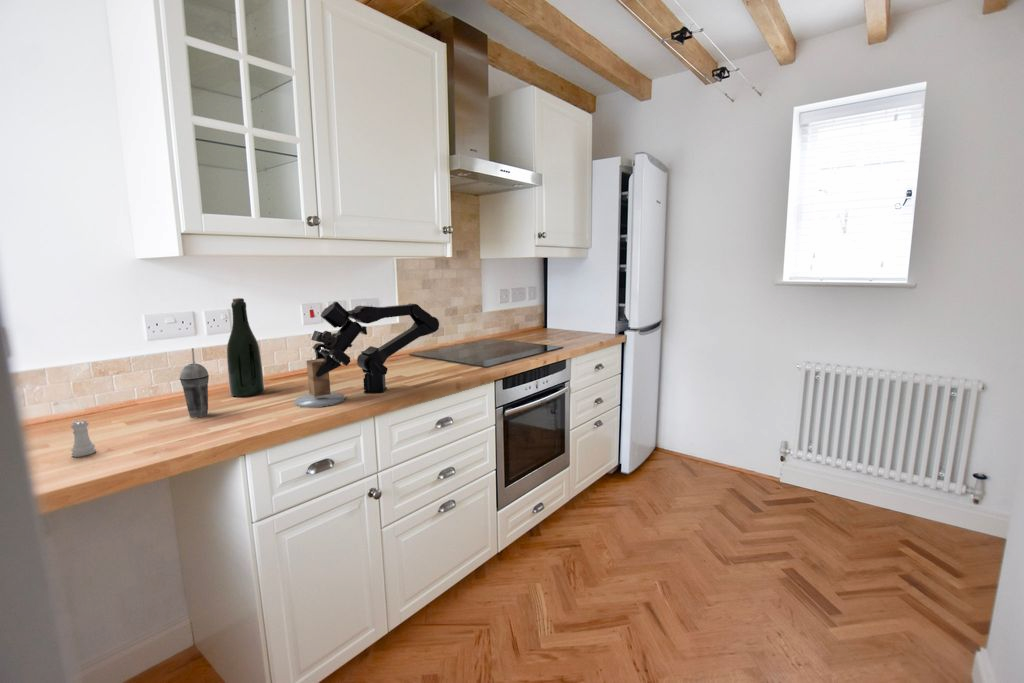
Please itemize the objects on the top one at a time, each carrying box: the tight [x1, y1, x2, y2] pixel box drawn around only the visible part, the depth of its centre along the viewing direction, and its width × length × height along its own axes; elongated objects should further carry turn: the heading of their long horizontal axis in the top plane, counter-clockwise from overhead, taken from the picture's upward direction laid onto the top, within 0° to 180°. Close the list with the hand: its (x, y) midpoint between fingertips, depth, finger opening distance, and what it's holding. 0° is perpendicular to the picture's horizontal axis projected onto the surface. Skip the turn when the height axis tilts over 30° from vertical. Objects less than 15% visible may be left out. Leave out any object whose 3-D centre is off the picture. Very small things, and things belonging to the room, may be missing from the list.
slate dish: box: [294, 391, 346, 408], centre depth 158 cm, size 15×15×1 cm
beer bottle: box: [226, 297, 265, 398], centre depth 167 cm, size 10×10×33 cm
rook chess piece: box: [70, 419, 97, 458], centre depth 115 cm, size 4×4×8 cm
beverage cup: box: [179, 348, 210, 418], centre depth 143 cm, size 7×7×20 cm
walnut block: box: [306, 358, 331, 397], centre depth 157 cm, size 5×5×11 cm
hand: (313, 374), depth 156 cm, fingers closed on walnut block, 5 cm apart
